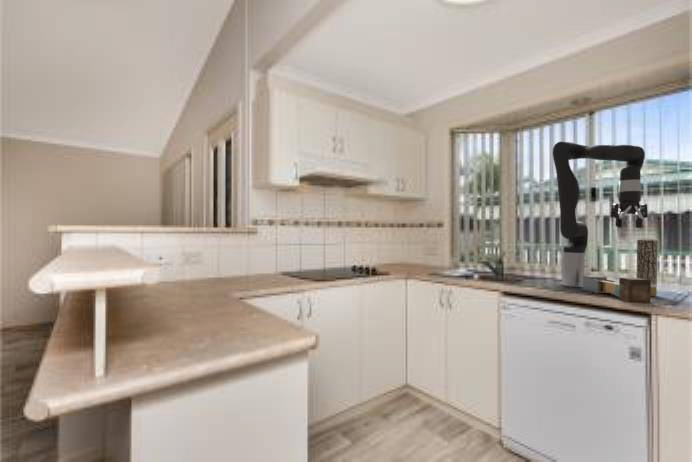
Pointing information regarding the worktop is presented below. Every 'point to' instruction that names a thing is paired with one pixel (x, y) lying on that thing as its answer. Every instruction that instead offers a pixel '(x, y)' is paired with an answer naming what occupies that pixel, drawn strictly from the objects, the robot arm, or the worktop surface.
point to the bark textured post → (647, 262)
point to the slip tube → (610, 287)
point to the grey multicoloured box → (593, 283)
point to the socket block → (634, 289)
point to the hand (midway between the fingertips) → (628, 227)
